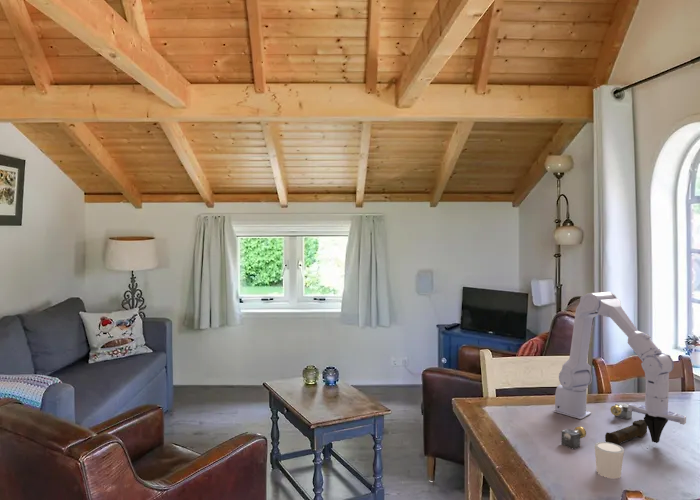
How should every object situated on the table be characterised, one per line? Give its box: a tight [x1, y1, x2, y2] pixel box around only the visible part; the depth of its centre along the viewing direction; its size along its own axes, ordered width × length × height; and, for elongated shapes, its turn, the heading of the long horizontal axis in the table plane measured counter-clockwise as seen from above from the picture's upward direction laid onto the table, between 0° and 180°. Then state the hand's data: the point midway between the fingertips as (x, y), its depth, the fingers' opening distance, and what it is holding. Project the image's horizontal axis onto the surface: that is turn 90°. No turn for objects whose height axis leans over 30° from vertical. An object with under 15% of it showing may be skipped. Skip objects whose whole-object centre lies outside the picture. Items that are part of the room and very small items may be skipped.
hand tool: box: [604, 419, 648, 446], centre depth 155 cm, size 19×4×5 cm, turn 119°
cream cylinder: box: [594, 441, 625, 480], centre depth 133 cm, size 7×7×7 cm
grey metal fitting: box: [561, 426, 587, 450], centre depth 151 cm, size 7×4×5 cm, turn 122°
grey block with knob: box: [609, 402, 633, 420], centre depth 172 cm, size 7×4×5 cm, turn 122°
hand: (655, 441), depth 150 cm, fingers closed
